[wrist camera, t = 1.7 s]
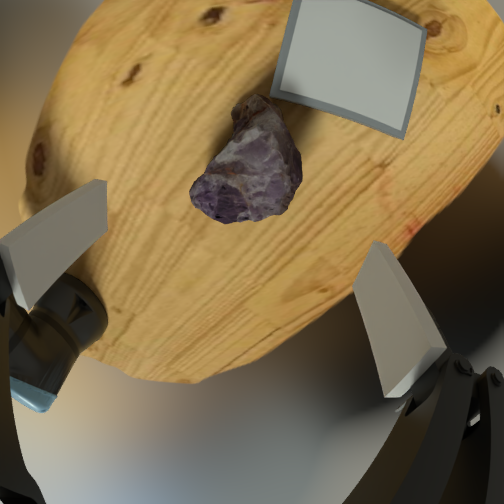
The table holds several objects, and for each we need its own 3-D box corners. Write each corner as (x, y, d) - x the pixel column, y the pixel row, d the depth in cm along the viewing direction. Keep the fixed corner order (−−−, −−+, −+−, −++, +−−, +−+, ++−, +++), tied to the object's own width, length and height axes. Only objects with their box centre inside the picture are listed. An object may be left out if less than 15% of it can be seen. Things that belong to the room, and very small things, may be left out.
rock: (195, 167, 30) (265, 216, 32) (161, 199, 23) (251, 259, 26) (251, 84, 23) (330, 142, 26) (228, 86, 17) (339, 167, 19)
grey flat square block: (269, 97, 24) (269, 95, 21) (296, -10, 17) (299, -23, 14) (392, 136, 25) (405, 140, 22) (415, 34, 18) (429, 28, 15)
